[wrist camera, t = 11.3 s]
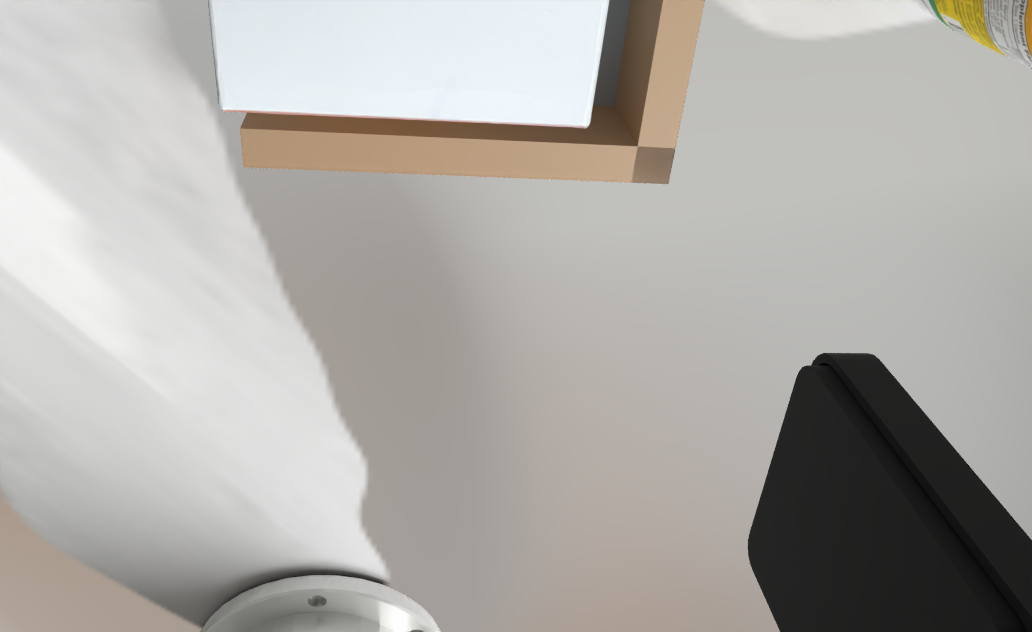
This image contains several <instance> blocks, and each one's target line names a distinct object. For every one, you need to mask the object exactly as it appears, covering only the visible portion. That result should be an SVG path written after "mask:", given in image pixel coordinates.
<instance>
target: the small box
mask: <svg viewBox="0 0 1032 632" xmlns="http://www.w3.org/2000/svg"><path fill="white" fill-rule="evenodd" d="M208 5H209V15H210V25H211V35H212V45H213V54H214V65H215V74H216V85H217V95H218V104H219V106H220V108H221V110H222V111H224V112H248V113H267V114H288V115H315V116H335V117H357V118H384V119H403V120H427V121H449V122H473V123H493V124H512V125H533V126H555V127H574V128H587V127H588V126H589V124H590V121H591V114H592V107H593V101H594V95H595V89H596V82H597V76H598V70H599V64H600V57H601V51H602V45H603V38H604V32H605V25H606V19H607V12H608V6H609V0H208Z"/></svg>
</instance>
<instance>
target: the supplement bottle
mask: <svg viewBox="0 0 1032 632" xmlns="http://www.w3.org/2000/svg"><path fill="white" fill-rule="evenodd" d="M924 2H925V4H926V6H927V7H928V9H929V10H930V12H931V13H932V14H933V16H934V17H935V18H936V19H937V20H938V21H940V22H941V23H942V24H944V25H945V26H947V27H949V28H950V29H952V30H954V31H956V32H958V33H960V34H961V35H964V36H966V37H968V38H970V39H972V40H974V41H976V42H978V43H980V44H981V45H984V46H986V47H988V48H990V49H992V50H994V51H996V52H998V53H1000V54H1002V55H1004V56H1006V57H1009V58H1011V59H1013V60H1015V61H1017V62H1019V63H1021V64H1023V65H1025V66H1027V67H1029V68H1031V69H1032V0H924Z"/></svg>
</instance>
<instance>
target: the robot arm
mask: <svg viewBox="0 0 1032 632" xmlns="http://www.w3.org/2000/svg"><path fill="white" fill-rule="evenodd" d="M748 555H749V560H750V564H751V567H752V570H753V572H754V574H755V577H756V579H757V581H758V583H759V585H760V588H761V590H762V592H763V594H764V597H765V599H766V601H767V603H768V605H769V608H770V610H771V612H772V614H773V617H774V619H775V621H776V623H777V625H778V628H779V630H780V632H1032V540H1031V539H1030V538H1029V536H1028V535H1027V534H1026V533H1025V532H1024V531H1023V529H1022V528H1021V527H1020V526H1019V525H1018V523H1017V522H1016V521H1015V520H1014V519H1013V517H1012V516H1011V515H1010V514H1009V513H1008V512H1007V510H1006V509H1005V508H1004V507H1003V506H1002V504H1001V503H1000V502H999V501H998V500H997V499H996V497H995V496H994V495H993V494H992V493H991V491H990V490H989V489H988V488H987V487H986V486H985V484H984V483H983V482H982V481H981V480H980V478H979V477H978V476H977V475H976V474H975V473H974V471H973V470H972V469H971V468H970V466H969V465H968V464H967V463H966V462H965V461H964V459H963V458H962V457H961V456H960V455H959V453H958V452H957V451H956V450H955V449H954V448H953V446H952V445H951V444H950V443H949V442H948V440H947V439H946V438H945V437H944V436H943V435H942V433H941V432H940V431H939V430H938V429H937V427H936V426H935V425H934V424H933V423H932V421H931V420H930V419H929V418H928V417H927V415H926V414H925V413H924V412H923V411H922V410H921V408H920V407H919V406H918V405H917V404H916V402H915V401H914V400H913V399H912V398H911V396H910V395H909V394H908V393H907V392H906V391H905V389H904V388H903V387H902V386H901V385H900V383H899V382H898V381H897V380H896V379H895V378H894V376H893V375H892V374H891V373H890V372H889V371H888V369H887V368H886V367H885V366H884V364H883V363H882V362H881V361H880V360H879V359H878V358H877V357H876V356H874V355H872V354H867V353H823V354H820V355H818V356H817V357H816V359H815V360H814V361H813V363H812V365H811V366H804V367H802V369H801V370H800V371H799V373H798V375H797V378H796V381H795V384H794V388H793V391H792V394H791V397H790V401H789V404H788V407H787V411H786V414H785V418H784V421H783V424H782V427H781V431H780V434H779V437H778V441H777V444H776V447H775V451H774V454H773V457H772V461H771V464H770V467H769V470H768V474H767V477H766V480H765V484H764V487H763V491H762V494H761V497H760V501H759V504H758V507H757V510H756V514H755V517H754V520H753V524H752V527H751V530H750V534H749V539H748ZM201 632H441V631H440V629H439V628H438V626H437V624H436V622H435V621H434V619H433V617H432V616H431V615H430V614H429V613H428V612H427V611H426V610H425V609H424V608H423V607H422V606H421V605H420V604H418V603H417V602H415V601H413V600H412V599H411V598H409V597H408V596H406V595H405V594H403V593H401V592H399V591H396V590H394V589H392V588H390V587H387V586H385V585H383V584H379V583H375V582H372V581H368V580H365V579H361V578H353V577H346V576H339V575H308V576H300V577H291V578H285V579H281V580H278V581H274V582H270V583H266V584H262V585H260V586H258V587H255V588H253V589H250V590H248V591H246V592H243V593H241V594H239V595H238V596H236V597H235V598H233V599H231V600H230V601H228V602H227V603H225V604H223V605H222V606H221V607H220V608H219V609H218V610H217V611H216V612H215V613H214V614H213V615H212V616H211V617H210V618H209V619H208V621H207V622H206V624H205V625H204V627H203V629H202V630H201Z"/></svg>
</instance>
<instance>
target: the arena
mask: <svg viewBox="0 0 1032 632" xmlns="http://www.w3.org/2000/svg"><path fill="white" fill-rule="evenodd" d="M704 2H705V0H609V6H608V12H607V19H606V25H605V32H604V38H603V45H602V51H601V57H600V64H599V70H598V76H597V82H596V89H595V95H594V101H593V107H592V114H591V121H590V124H589V126H588V127H587V128H574V127H555V126H533V125H512V124H493V123H473V122H449V121H427V120H403V119H384V118H357V117H335V116H315V115H288V114H267V113H248V112H247V115H246V117H245V119H244V121H243V123H242V126H241V128H240V132H241V143H242V155H243V166H244V167H250V168H275V169H276V168H277V169H301V170H327V171H353V172H379V173H403V174H428V175H430V174H431V175H455V176H479V177H504V178H529V179H555V180H557V179H558V180H581V181H606V182H633V183H657V184H668V183H669V178H670V173H671V168H672V163H673V158H674V153H675V148H676V143H677V138H678V133H679V127H680V123H681V118H682V112H683V107H684V103H685V98H686V93H687V88H688V83H689V77H690V73H691V67H692V62H693V57H694V52H695V47H696V42H697V37H698V32H699V27H700V22H701V17H702V12H703V7H704Z"/></svg>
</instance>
